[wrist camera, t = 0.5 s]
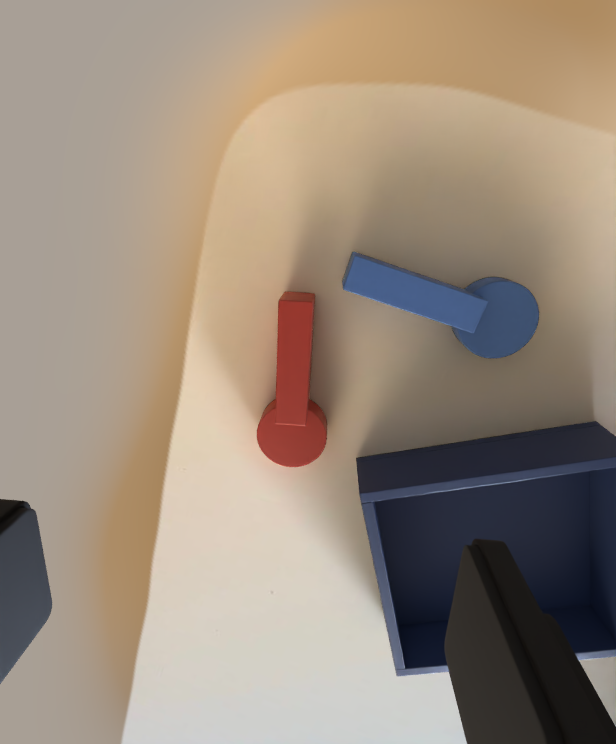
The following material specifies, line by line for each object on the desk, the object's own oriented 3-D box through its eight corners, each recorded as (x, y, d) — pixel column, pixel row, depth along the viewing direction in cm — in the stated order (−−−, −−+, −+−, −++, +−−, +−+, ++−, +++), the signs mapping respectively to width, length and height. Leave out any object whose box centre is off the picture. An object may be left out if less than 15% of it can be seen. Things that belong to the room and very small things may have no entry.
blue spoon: (334, 302, 22) (334, 312, 20) (360, 228, 21) (363, 230, 19) (505, 360, 23) (524, 375, 21) (541, 291, 22) (565, 299, 19)
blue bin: (356, 457, 25) (359, 493, 22) (596, 420, 24) (638, 453, 20) (389, 625, 30) (396, 676, 26) (595, 603, 28) (630, 655, 25)
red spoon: (262, 290, 22) (254, 298, 20) (336, 294, 22) (336, 303, 20) (260, 452, 26) (252, 474, 23) (324, 456, 25) (323, 480, 23)
